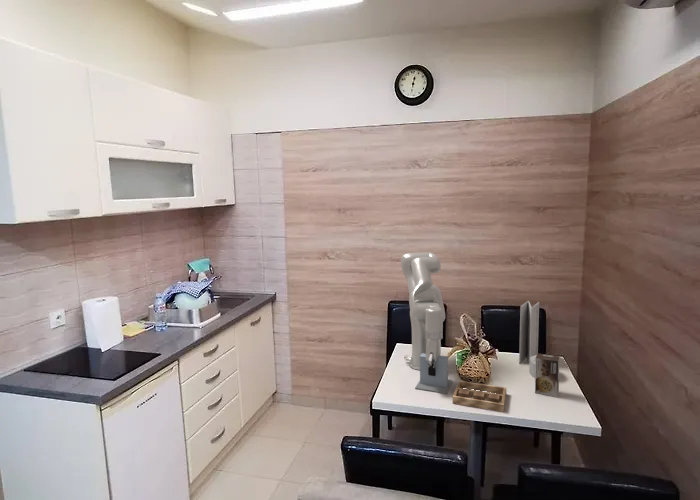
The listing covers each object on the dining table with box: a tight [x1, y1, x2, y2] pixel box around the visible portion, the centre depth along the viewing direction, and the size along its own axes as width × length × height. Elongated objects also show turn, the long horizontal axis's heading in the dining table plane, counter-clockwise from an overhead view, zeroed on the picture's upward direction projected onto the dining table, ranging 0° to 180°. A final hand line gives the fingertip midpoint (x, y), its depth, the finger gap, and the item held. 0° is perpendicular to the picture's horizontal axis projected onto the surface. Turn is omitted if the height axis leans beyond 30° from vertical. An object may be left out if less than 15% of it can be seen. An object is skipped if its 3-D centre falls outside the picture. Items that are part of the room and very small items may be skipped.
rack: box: [452, 380, 507, 413], centre depth 179 cm, size 20×16×3 cm
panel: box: [419, 353, 449, 387], centre depth 193 cm, size 12×4×13 cm, turn 66°
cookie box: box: [534, 352, 560, 398], centre depth 182 cm, size 9×6×16 cm
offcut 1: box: [458, 389, 471, 398], centre depth 178 cm, size 4×4×4 cm
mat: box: [414, 378, 453, 395], centre depth 193 cm, size 14×14×1 cm
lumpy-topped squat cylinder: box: [528, 355, 537, 379], centre depth 200 cm, size 10×13×9 cm
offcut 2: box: [472, 391, 486, 401], centre depth 176 cm, size 4×4×4 cm
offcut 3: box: [487, 393, 501, 403], centre depth 173 cm, size 4×4×4 cm
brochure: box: [518, 300, 540, 366], centre depth 218 cm, size 14×6×30 cm, turn 143°
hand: (434, 371), depth 193 cm, fingers open, 8 cm apart
